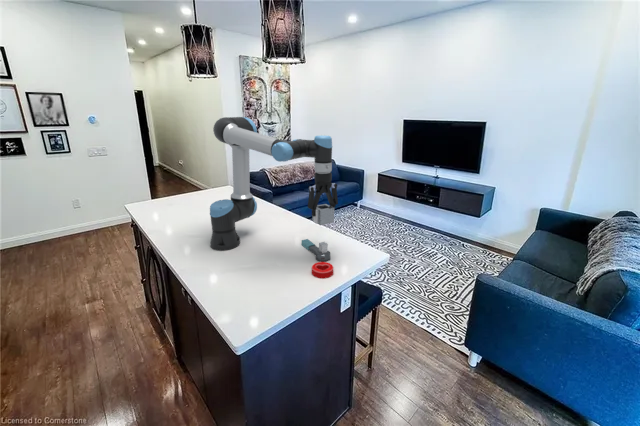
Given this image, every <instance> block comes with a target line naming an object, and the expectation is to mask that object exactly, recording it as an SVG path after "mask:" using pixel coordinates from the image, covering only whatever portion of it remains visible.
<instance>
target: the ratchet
mask: <svg viewBox="0 0 640 426" xmlns="http://www.w3.org/2000/svg"><path fill="white" fill-rule="evenodd" d="M300 241H301V246H302V247H303V248H305V249H306V250H307V251H309V252H311V254H313V255H314V257H315V260H316V261H317V262H327V263H328V262H329V261H330V260H331V252H330V250H328V243H327V242H325V241H321V242H318V246H316V244H315V243H314V242H313V241H311V240H309V238H305V239H302V240H300Z"/></svg>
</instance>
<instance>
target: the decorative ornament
mask: <svg viewBox="0 0 640 426" xmlns="http://www.w3.org/2000/svg"><path fill="white" fill-rule="evenodd" d="M334 268H335V267H334V266H333V264H332V263H330V262H328V261H327V262H319V261H317V262H315V263H313V264H312V265H311V275H312V276H313V277H314V278H317V279H329V278H331V277H332V276H333V275H334V270H335V269H334Z"/></svg>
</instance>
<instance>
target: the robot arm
mask: <svg viewBox="0 0 640 426" xmlns="http://www.w3.org/2000/svg"><path fill="white" fill-rule="evenodd" d="M212 128H213V135H214V137H215V138H216V140H218V141H219V142H221V143H223V144H226V145H229V146H230V147H231V153H232V154H231V157H232V183H233V184H232V186H233V187H232V188H233V189H232V190H233V192H232V193H231V194H230V199H227V198H226V199H220V200H216V201H214V202H212V203H211V204H210V206H209V216H210V224H211V231H212V232H211V233H212V234H211V237H210V241H209V243H210V244H209V245H210V248H211V249H212V250H215V251H228V250H233V249H235V248H237V247H239V246H240V245H241V239H240V236H239V234H238V232H237V230H236V223H238V222H240V221H243V220H245V219H248V218H250V217H252V216H253V215H255V214H256V212H257V210H258V203H257V200H256V198H254V195H253V193H251V190H250V186H251V185H250V183H251V182H250V179H251V177H250V174H251V173H250V172H251V171H250V168H251V167H250V150H252V151H256V152H258V153H261V154H264V155H267V156H270V157H272V158H273V159H274V161H277V162H288V161H291V160H297V159H301V158H311V159H312V158H313V159H314V185H312V186H311V185H309V186H308V190H309V191H308V201H307V208H308V209H309V210H311V216H313V223H315V224H316V225H318V224H317V223H318V210H317V209H316V208H317V205H319V202H320V198H321V196H322V195H323V194H325V195H326V198H327V201H328V203H329V204H328V205H329V206H331V207H333V208H334V209H335V208H336V205H338V204H339V199H338V191H337V188H338V184H337V183H335V182H332V180H333V179H332V178H333V175H332V174H333V173H332V170H333V166H332V165H333V160H332V159H333V138H332V136H330V135H315V136H314V139H302V138H297V139H292V140H290V141H286V140H284V139H283V140H282V139H279V138H276V137H272V136H269V135H266V134H263V133H260V132H258V131H257V126H256V124H255V122H254V121H253V120H252V118H251V119H250V118H249V117H246V116H234V117H233V116H231V117H226V116H225V117H221V118H219V119H217V120H216V121H215V122H214V125H213V127H212Z"/></svg>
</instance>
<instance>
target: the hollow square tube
mask: <svg viewBox="0 0 640 426" xmlns="http://www.w3.org/2000/svg"><path fill="white" fill-rule="evenodd" d="M316 209H317V210H318V223H317V224H316V225H319V226H323V225H324V226H325V225H327V224H333V223H335V207H334V208H333V207H331V206H330V204H327V203H323V204H318V205H317V208H316ZM311 216H312V215H311ZM311 218H312V219H311V220H312V221H313V216H312V217H311Z"/></svg>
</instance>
